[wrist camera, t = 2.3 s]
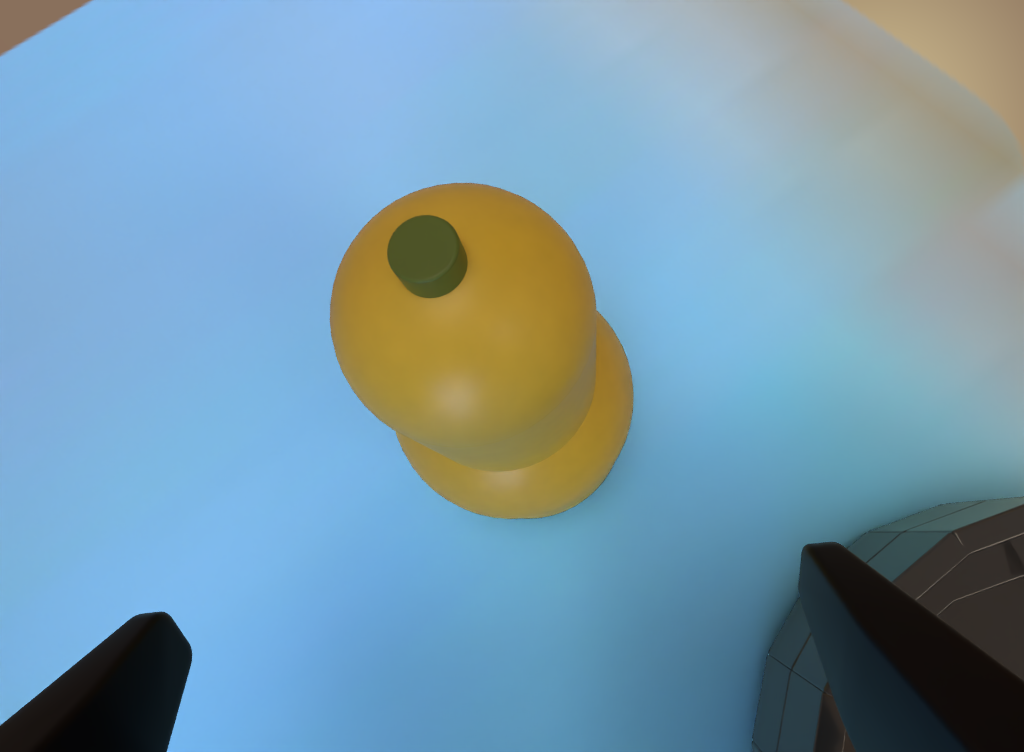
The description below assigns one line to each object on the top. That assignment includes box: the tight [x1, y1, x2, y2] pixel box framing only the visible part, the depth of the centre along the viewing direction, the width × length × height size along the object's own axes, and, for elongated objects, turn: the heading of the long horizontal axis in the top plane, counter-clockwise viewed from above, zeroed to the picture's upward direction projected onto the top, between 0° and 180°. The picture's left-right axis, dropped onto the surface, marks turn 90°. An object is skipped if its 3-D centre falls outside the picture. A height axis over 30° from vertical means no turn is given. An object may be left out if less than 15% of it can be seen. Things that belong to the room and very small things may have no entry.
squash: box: [330, 183, 633, 519], centre depth 14 cm, size 7×7×13 cm
